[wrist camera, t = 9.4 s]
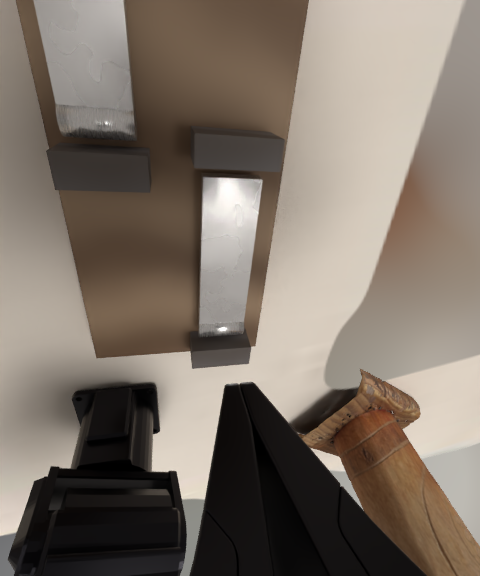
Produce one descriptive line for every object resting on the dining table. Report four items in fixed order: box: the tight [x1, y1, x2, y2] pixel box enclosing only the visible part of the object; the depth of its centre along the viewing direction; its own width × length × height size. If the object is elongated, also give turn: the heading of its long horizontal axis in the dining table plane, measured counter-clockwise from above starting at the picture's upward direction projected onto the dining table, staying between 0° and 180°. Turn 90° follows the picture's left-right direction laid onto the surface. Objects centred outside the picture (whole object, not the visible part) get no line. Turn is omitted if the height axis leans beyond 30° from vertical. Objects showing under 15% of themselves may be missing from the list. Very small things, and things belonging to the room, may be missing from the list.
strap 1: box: [198, 173, 263, 337], centre depth 19 cm, size 11×3×1 cm, turn 175°
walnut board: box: [16, 0, 309, 369], centre depth 15 cm, size 27×12×4 cm, turn 175°
